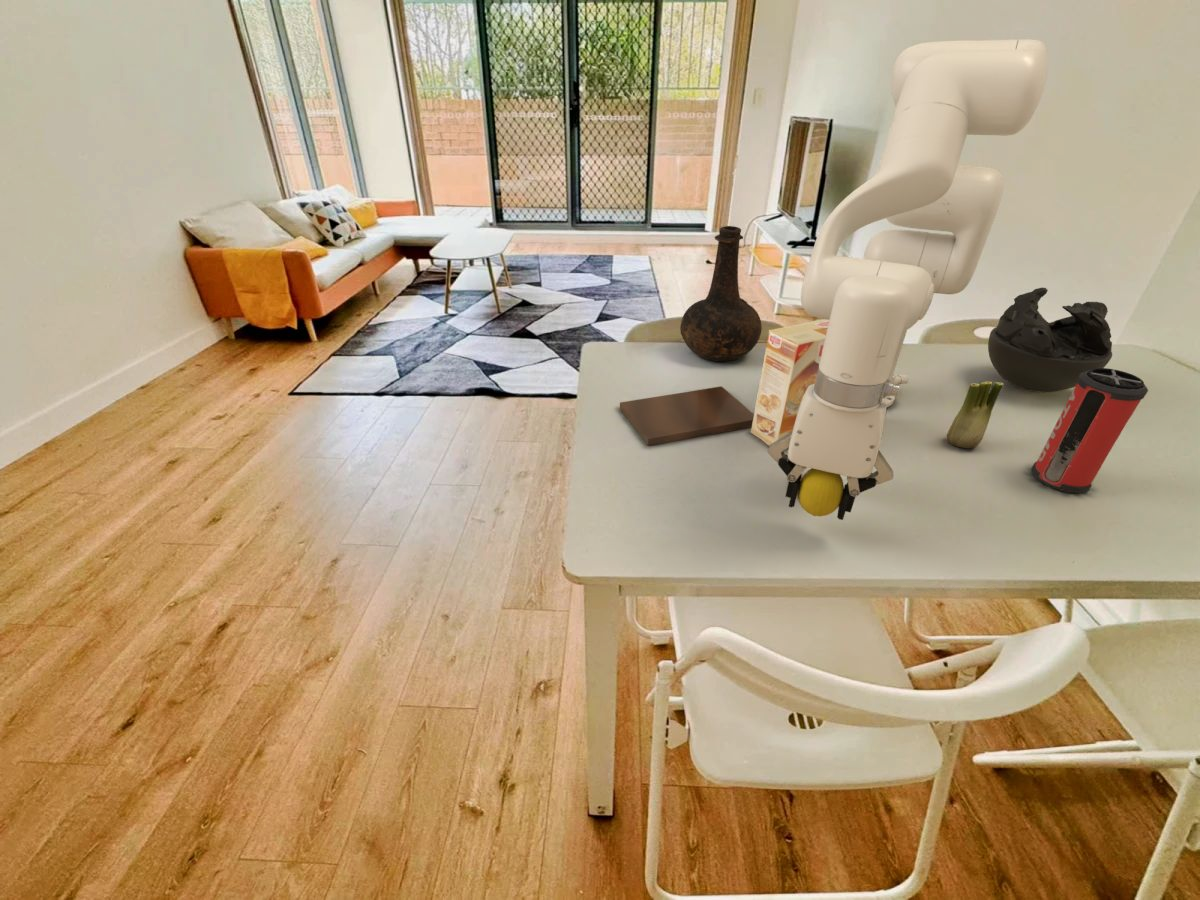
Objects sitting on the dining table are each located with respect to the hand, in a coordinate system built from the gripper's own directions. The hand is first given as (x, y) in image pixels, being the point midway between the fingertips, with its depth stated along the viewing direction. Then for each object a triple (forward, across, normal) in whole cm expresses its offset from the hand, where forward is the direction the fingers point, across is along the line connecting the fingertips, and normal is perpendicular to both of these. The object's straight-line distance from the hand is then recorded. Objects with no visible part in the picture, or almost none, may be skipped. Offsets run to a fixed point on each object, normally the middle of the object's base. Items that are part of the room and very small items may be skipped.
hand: (816, 506), depth 75 cm
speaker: (+5, -35, -29) cm, 46 cm away
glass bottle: (+5, +27, -57) cm, 63 cm away
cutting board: (+5, +25, -25) cm, 35 cm away
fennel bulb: (+5, -22, -35) cm, 41 cm away
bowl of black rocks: (+5, -36, -66) cm, 76 cm away
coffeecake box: (+5, +6, -28) cm, 29 cm away
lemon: (+2, 0, 0) cm, 2 cm away
